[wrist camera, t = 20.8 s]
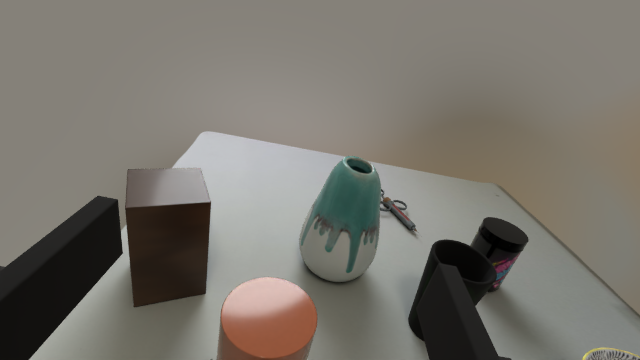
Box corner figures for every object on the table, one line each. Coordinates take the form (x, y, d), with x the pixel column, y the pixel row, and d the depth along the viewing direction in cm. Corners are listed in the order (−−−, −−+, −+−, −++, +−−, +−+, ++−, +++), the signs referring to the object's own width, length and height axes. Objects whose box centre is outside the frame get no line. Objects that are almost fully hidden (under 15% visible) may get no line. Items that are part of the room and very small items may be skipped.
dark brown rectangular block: (133, 307, 38) (125, 207, 32) (134, 260, 44) (127, 169, 38) (205, 293, 42) (211, 202, 35) (197, 252, 48) (200, 167, 41)
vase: (380, 287, 49) (421, 184, 41) (309, 299, 44) (339, 186, 36) (347, 238, 58) (375, 146, 50) (285, 243, 53) (305, 143, 45)
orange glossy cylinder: (205, 443, 26) (212, 356, 21) (220, 356, 32) (228, 273, 27) (295, 441, 27) (322, 359, 22) (292, 358, 33) (313, 279, 28)
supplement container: (455, 281, 54) (482, 231, 49) (458, 259, 59) (482, 212, 55) (498, 301, 52) (531, 250, 47) (497, 275, 57) (526, 228, 53)
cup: (461, 324, 46) (500, 259, 40) (450, 365, 40) (494, 295, 34) (410, 294, 49) (439, 231, 43) (392, 328, 43) (424, 259, 37)
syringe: (404, 242, 61) (407, 234, 60) (358, 191, 75) (360, 184, 74) (435, 238, 64) (438, 231, 63) (385, 190, 78) (387, 184, 77)
